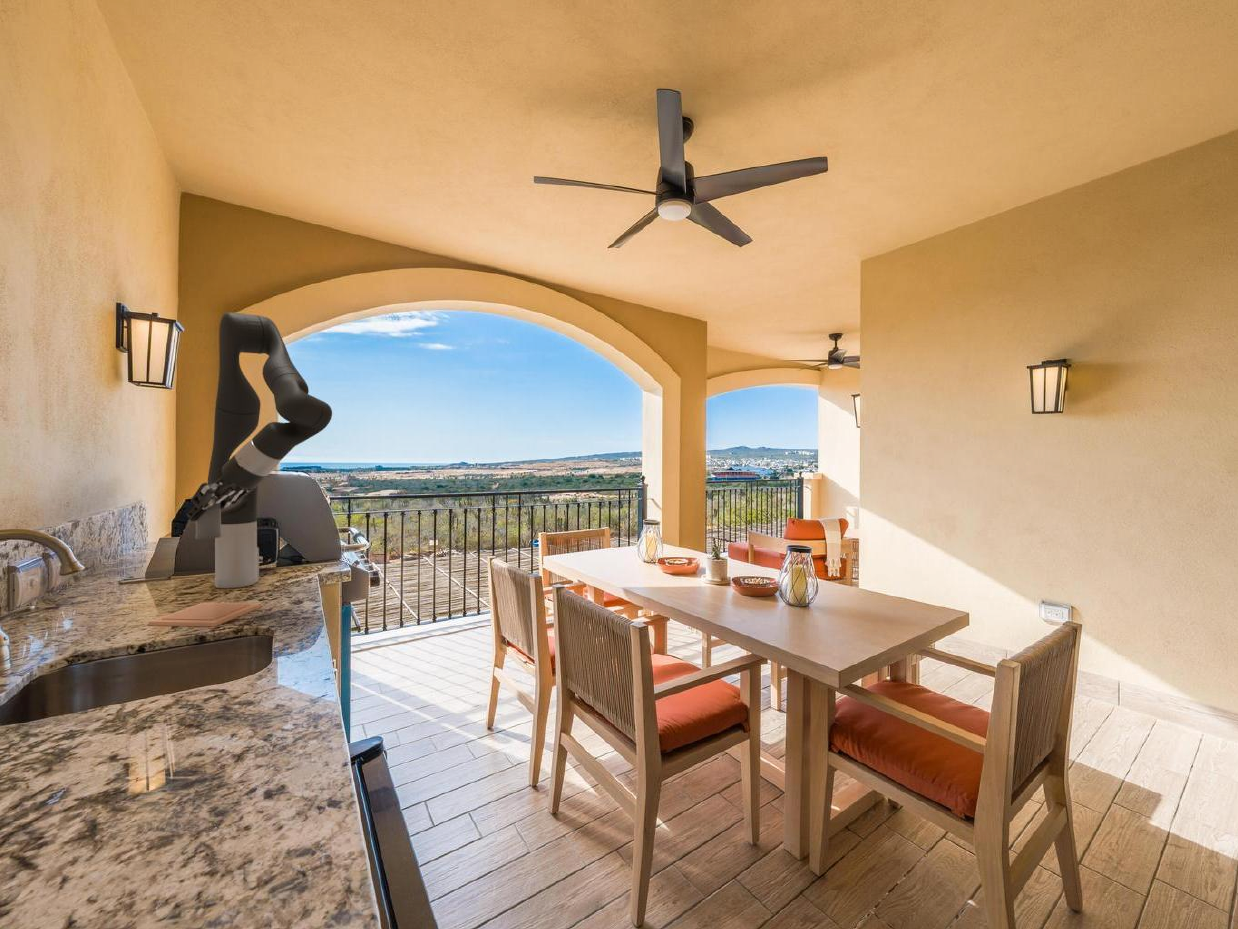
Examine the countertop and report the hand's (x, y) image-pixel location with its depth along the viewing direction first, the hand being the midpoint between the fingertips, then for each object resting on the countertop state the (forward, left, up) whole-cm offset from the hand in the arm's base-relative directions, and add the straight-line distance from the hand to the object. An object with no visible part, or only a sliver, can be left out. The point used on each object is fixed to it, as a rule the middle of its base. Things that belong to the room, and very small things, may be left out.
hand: (199, 516), depth 115 cm
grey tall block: (0, +2, -5) cm, 5 cm away
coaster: (0, +2, -22) cm, 22 cm away
